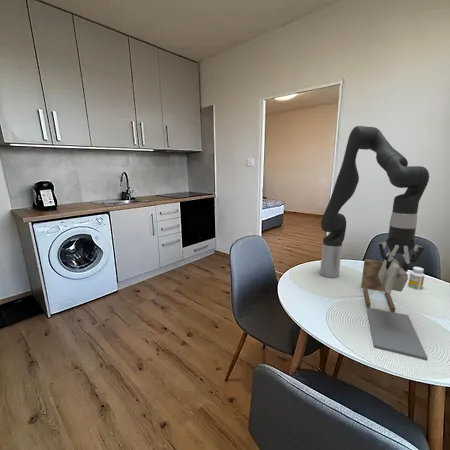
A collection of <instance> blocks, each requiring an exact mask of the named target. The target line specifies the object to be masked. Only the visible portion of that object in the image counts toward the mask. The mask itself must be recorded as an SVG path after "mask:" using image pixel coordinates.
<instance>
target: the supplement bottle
mask: <svg viewBox="0 0 450 450" xmlns="http://www.w3.org/2000/svg"><path fill="white" fill-rule="evenodd" d="M424 270H425V269H424V268H422V267H420V266H413V268H412V270H411V271H410V273H409V277H408V285H407V286H408V287H409V288H411V289H413V290H417V289H418V290H419V291H420V290H422V289H423V285H424V280H425V273H424V272H425V271H424Z"/></svg>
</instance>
